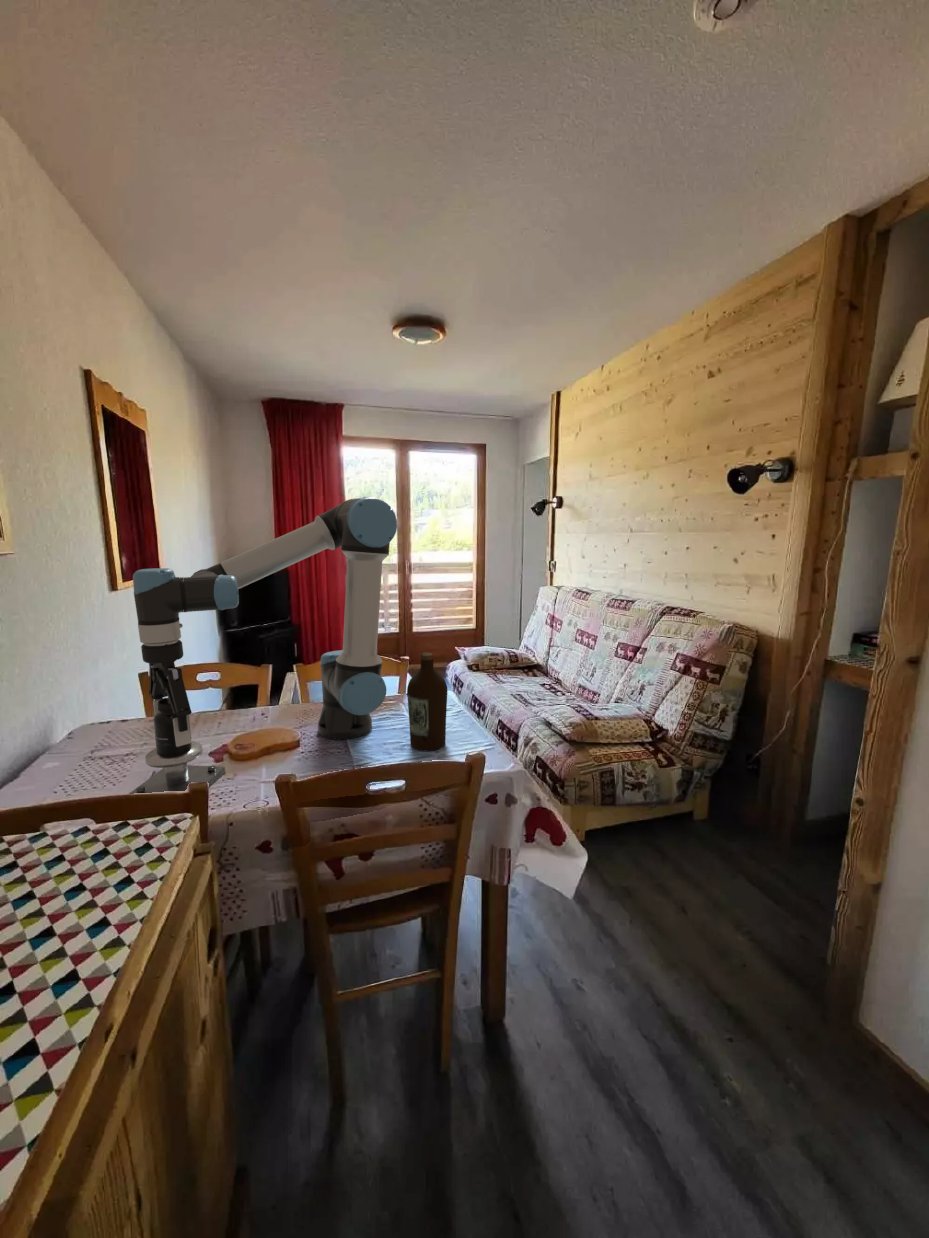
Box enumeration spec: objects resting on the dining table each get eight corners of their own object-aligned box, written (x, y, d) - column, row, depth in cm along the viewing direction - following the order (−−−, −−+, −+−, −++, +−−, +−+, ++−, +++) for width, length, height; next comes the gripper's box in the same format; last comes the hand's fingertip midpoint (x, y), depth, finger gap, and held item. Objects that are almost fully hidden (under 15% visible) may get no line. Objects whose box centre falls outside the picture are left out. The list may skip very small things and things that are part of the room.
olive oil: (425, 732, 143) (424, 646, 138) (455, 741, 137) (455, 652, 132) (399, 745, 134) (397, 655, 129) (430, 756, 128) (429, 662, 123)
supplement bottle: (154, 760, 107) (148, 707, 105) (159, 747, 113) (154, 697, 111) (190, 755, 110) (185, 703, 108) (193, 743, 116) (189, 693, 114)
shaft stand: (225, 772, 120) (221, 739, 118) (189, 805, 106) (185, 767, 104) (168, 770, 121) (164, 737, 119) (126, 802, 107) (121, 765, 105)
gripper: (201, 648, 101) (212, 746, 105) (162, 630, 118) (173, 715, 122) (159, 655, 96) (172, 759, 100) (125, 635, 113) (137, 724, 117)
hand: (173, 735), depth 111 cm, fingers open, 13 cm apart
